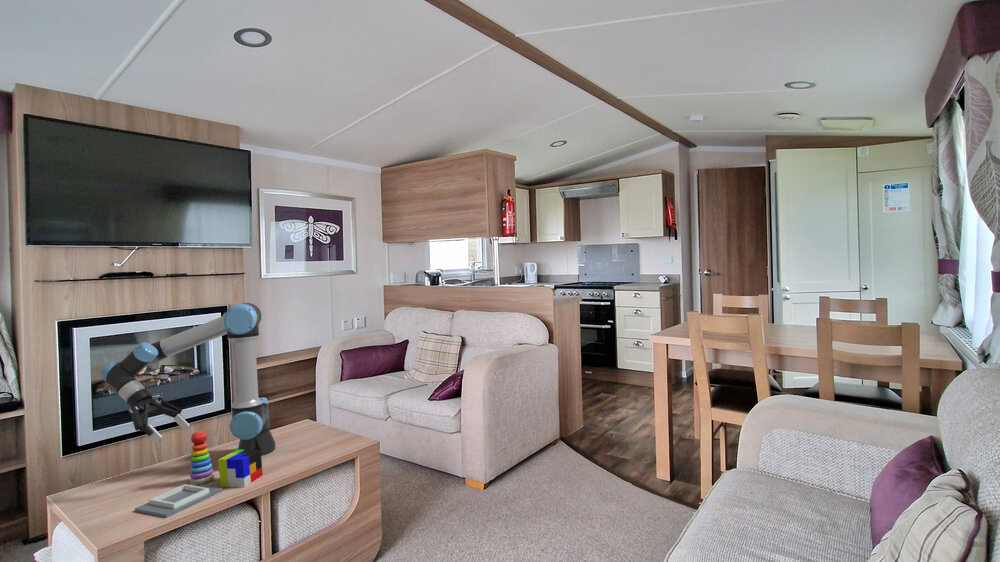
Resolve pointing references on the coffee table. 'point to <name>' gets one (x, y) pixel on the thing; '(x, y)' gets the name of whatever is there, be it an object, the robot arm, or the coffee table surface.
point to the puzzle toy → (240, 468)
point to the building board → (177, 500)
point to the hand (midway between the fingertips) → (174, 433)
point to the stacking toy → (200, 460)
